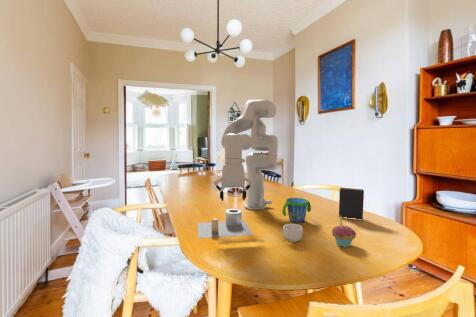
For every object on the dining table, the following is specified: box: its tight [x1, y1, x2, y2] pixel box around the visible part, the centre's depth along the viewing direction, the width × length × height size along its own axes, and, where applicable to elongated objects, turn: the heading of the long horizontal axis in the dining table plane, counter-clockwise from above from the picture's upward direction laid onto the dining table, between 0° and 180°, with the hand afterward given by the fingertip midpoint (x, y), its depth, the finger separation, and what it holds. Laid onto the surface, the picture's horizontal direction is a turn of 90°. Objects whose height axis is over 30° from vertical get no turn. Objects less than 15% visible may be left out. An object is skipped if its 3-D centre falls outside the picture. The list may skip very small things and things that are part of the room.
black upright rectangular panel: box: [338, 187, 365, 220], centre depth 132 cm, size 11×4×15 cm, turn 65°
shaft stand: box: [197, 217, 254, 239], centre depth 114 cm, size 22×18×7 cm
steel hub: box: [225, 208, 243, 227], centre depth 119 cm, size 7×7×6 cm
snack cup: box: [282, 197, 312, 223], centre depth 129 cm, size 16×10×10 cm
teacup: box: [282, 223, 304, 243], centre depth 106 cm, size 10×8×5 cm
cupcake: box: [331, 215, 357, 248], centre depth 100 cm, size 9×8×12 cm
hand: (233, 199), depth 118 cm, fingers open, 9 cm apart
